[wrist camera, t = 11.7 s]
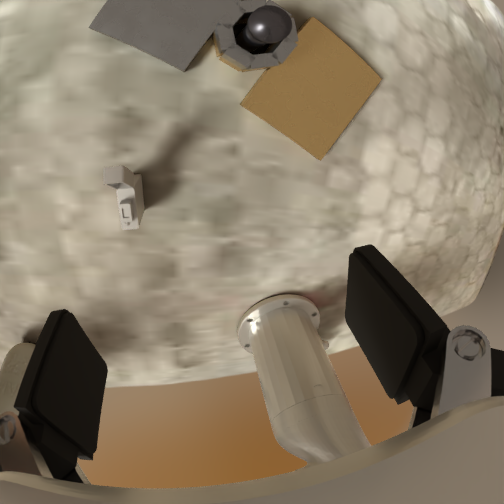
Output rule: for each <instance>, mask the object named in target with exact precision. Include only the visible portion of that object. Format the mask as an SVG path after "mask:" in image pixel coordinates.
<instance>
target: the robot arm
mask: <svg viewBox="0 0 504 504" xmlns="http://www.w3.org/2000/svg"><path fill="white" fill-rule="evenodd" d="M345 319H346V322H347V324H348V326H349V328H350V330H351V331H352V333H353V335H354V336H355V338H356V340H357V342H358V343H359V345H360V347H361V348H362V350H363V352H364V354H365V355H366V357H367V359H368V361H369V363H370V364H371V366H372V368H373V370H374V371H375V373H376V375H377V377H378V379H379V380H380V382H381V384H382V386H383V388H384V389H385V391H386V393H387V395H388V396H389V397H390V398H391V399H393V398H394V399H395V400H396V402H397V404H401V403H403V402H405V401H407V400H409V399H410V401H411V402H412V404H413V406H414V409H413V413H412V417H411V421H410V425H409V428H408V431H405V432H404V433H401V434H399V435H397V436H395V437H392V438H390V439H388V440H386V441H383V442H381V443H378V444H376V445H373V446H371V445H370V443H369V441H368V440H367V438H366V436H365V435H364V433H363V431H362V429H361V427H360V425H359V423H358V421H357V419H356V416H355V414H354V412H353V410H352V408H351V406H350V404H349V401H348V399H347V397H346V395H345V392H344V390H343V388H342V386H341V384H340V381H339V379H338V377H337V375H336V373H335V370H334V368H333V366H332V364H331V362H330V360H329V358H328V355H327V353H326V351H325V349H327V348H328V347H329V342H328V341H324V340H321V338H320V336H319V334H318V332H317V330H318V327H319V324H320V314H319V311H318V309H317V307H316V305H315V304H314V303H313V302H312V301H311V300H309V299H308V298H306V297H303V296H300V295H293V294H285V295H278V296H274V297H270V298H268V299H265V300H263V301H261V302H259V303H257V304H256V305H254V306H253V307H251V308H250V309H249V310H248V311H247V312H246V313H245V314H244V315H243V317H242V318H241V320H240V322H239V324H238V328H237V334H238V340H239V342H240V344H241V346H242V347H243V348H244V349H245V350H246V351H248V352H250V353H252V354H253V356H254V360H255V364H256V368H257V372H258V376H259V380H260V383H261V387H262V391H263V395H264V399H265V402H266V407H267V410H268V414H269V417H270V422H271V425H272V429H273V433H274V436H275V438H276V440H277V442H278V443H279V444H280V446H282V447H283V448H284V449H285V450H286V451H288V452H289V453H291V454H293V455H295V456H297V457H299V458H301V459H303V460H305V461H307V463H308V464H307V465H306V466H305V467H303V468H301V469H298V470H295V471H294V472H290V473H285V474H281V475H277V476H272V477H267V478H262V479H257V480H251V481H245V482H239V483H232V484H225V485H215V486H205V487H193V488H170V489H144V488H121V487H109V486H99V485H91V483H90V482H89V481H88V479H87V477H86V476H85V474H84V473H83V471H82V470H81V468H80V467H79V465H78V463H77V457H78V458H80V459H84V460H93V453H94V452H95V451H96V449H97V440H98V431H99V423H100V415H101V408H102V402H103V395H104V389H105V383H106V378H107V372H108V370H107V365H106V363H105V361H104V360H103V359H102V357H101V356H100V354H99V353H98V352H97V350H96V349H95V347H94V346H93V344H92V343H91V341H90V340H89V338H88V337H87V335H86V334H85V332H84V331H83V329H82V328H81V326H80V325H79V323H78V321H77V320H76V318H75V317H74V315H73V314H72V313H69V311H68V310H66V309H63V310H57V311H53V312H51V313H50V315H49V317H48V319H47V321H46V323H45V325H44V327H43V330H42V332H41V334H40V336H39V339H38V341H37V343H36V346H35V348H34V350H33V353H32V355H31V358H30V360H29V363H28V366H27V368H26V371H25V374H24V376H23V379H22V382H21V385H20V388H19V391H18V394H17V397H16V400H15V403H14V406H13V407H14V408H15V409H16V410H17V411H19V415H18V416H17V415H16V414H15V413H14V412H11V411H7V412H4V413H2V414H1V415H0V504H504V351H501V350H497V349H493V348H490V343H489V340H488V339H487V337H486V336H485V334H483V332H482V331H480V330H478V329H477V328H474V327H472V326H464V325H463V326H458V327H456V328H454V329H453V330H452V331H450V330H449V329H448V328H447V325H446V324H445V323H444V322H443V321H442V319H441V318H440V317H439V316H438V314H437V313H436V312H435V311H434V310H433V309H432V308H431V306H430V305H429V304H428V303H427V302H426V301H425V300H424V299H423V297H422V296H421V295H420V294H419V293H418V292H417V291H416V290H415V289H414V287H413V286H412V285H411V284H410V283H409V282H408V281H407V280H406V279H405V278H404V277H403V276H402V275H401V273H400V272H399V271H398V270H397V269H396V268H395V267H394V266H393V265H392V264H391V263H390V262H389V261H388V260H387V259H386V258H385V257H384V256H383V255H382V254H381V253H380V252H379V251H378V250H377V249H376V248H375V247H374V246H373V245H365V246H361V247H357V248H355V249H354V251H353V253H351V254H350V255H349V268H348V284H347V297H346V309H345Z"/></svg>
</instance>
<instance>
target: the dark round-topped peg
mask: <svg viewBox="0 0 504 504" xmlns="http://www.w3.org/2000/svg"><path fill="white" fill-rule="evenodd" d="M291 30H292V21H291V18H290V16H289V15H288V13H287V12H286V11H284V10H283V9H281V8H279V7H277V6H272V5H266V6H261V7H259V8H257V9H256V10H255V11H254V12H253V13H252V14H251V15H250V17H249V18H248V22H247V25H246V26H245V27H244V28H243V30H242V31H241V32H240V33H239V34H238V35H237V37H236V45H238V46H239V47H241V48H243V49H244V50H246V51H247V52H252V51H254V50H256V49H258V48H260V47H262V46H263V45H265V44H267V43H269V44H270V43H276V42H279V41H281V40H283V39H285V38H286V37H287V36H288V35H289V34H290V32H291Z"/></svg>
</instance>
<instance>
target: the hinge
mask: <svg viewBox="0 0 504 504" xmlns="http://www.w3.org/2000/svg"><path fill="white" fill-rule="evenodd" d="M266 5H272V6H277V7H279V8H281V9H283V8H282V7H280V6H279V5H277V4H276V3H274V2H273V1H271V0H269V1H268V2H266V0H244V1H241V0H108V1H107V2H106V3H105V5H104V6H103V7H102V9H101V10H100V12H99V13H98V14H97V16H96V17H95V19H94V20H93V22H92V23H91V25H90V26H89V28H90V29H92V30H95V31H97V32H100V33H102V34H105V35H107V36H110V37H112V38H114V39H117V40H119V41H121V42H124V43H126V44H128V45H130V46H133V47H135V48H137V49H139V50H141V51H143V52H146V53H148V54H150V55H152V56H154V57H156V58H158V59H160V60H162V61H164V62H166V63H168V64H170V65H172V66H174V67H175V68H177V69H179V70H181V71H183V72H185V70H186V69H187V68H188V66H189V65H190V63H191V62H192V61H193V59H194V58H195V57H196V55H197V54H198V52H199V51H200V50H201V48H202V47H203V46H204V45H205V43H206V42H207V41H208V39H209V38H210V37H211V36H212V34H213V33H214V34H213V40H214V45H215V50H216V55H217V57H219V56H221V57H220V58H219V60H221V61H222V62H224V63H226V64H227V65H229V66H231V67H232V68H234V69H236V70H237V71H241V70H242V72H245V71H252V70H258V69H265V68H267V69H266V70H265V71H264V73H263V74H262V75H261V76H260V78H259V79H258V80H257V82H256V83H255V84H254V86H253V87H252V88H251V90H250V91H249V92H248V94H247V95H246V97H245V98H244V99H243V101H242V102H241V103H240V105H241V106H242V107H244V108H246V109H247V110H249V111H250V112H252V113H253V114H255V115H256V116H258V117H259V118H261V119H262V120H264V121H265V122H267V123H268V124H270V125H271V126H273V127H274V128H276V129H277V130H278V131H280V132H281V133H283V134H284V135H285V136H287V137H288V138H290V139H291V140H292V141H294V142H295V143H297V144H298V145H299V146H301V147H302V148H303V149H305V150H306V151H307V152H309V153H310V154H311V155H313V156H314V157H315V158H317V159H318V160H320V161H321V160H322V158H323V157H324V156H325V154H326V153H327V152H328V150H329V149H330V148H331V146H332V145H333V144H334V142H335V141H336V140H337V138H338V137H339V136H340V134H341V133H342V132H343V130H344V129H345V128H346V126H347V125H348V124H349V122H350V121H351V120H352V118H353V117H354V116H355V114H356V113H357V112H358V110H359V109H360V108H361V106H362V105H363V104H364V102H365V101H366V100H367V98H368V97H369V96H370V94H371V93H372V92H373V90H374V89H375V88H376V86H377V85H378V84H379V82H380V81H381V80H382V79H381V78H380V77H379V76H378V75H377V74H376V72H375V71H374V70H373V69H372V68H371V67H370V66H369V65H368V64H367V63H366V62H365V61H364V60H363V59H362V58H360V57H359V56H358V55H357V54H356V53H355V52H354V51H353V50H352V49H351V48H350V47H349V46H348V45H347V44H345V43H344V42H343V41H342V40H341V39H340V38H339V37H337V36H336V35H335V34H334V33H333V32H332V31H330V30H329V29H328V28H327V27H326V26H324V25H323V24H322V23H321V22H319V21H318V20H317V19H316V18H314V17H311V18H309V19H307V20H306V22H305V23H304V24H303V25H302V26H301V27H300V28H299V30H298V31H297V30H296V25H295V20H294V18H291V21H292V30H291V32H290V34H289V35H288V36H287V37H286V38H285V39H283V40H281V41H279V42H276V43H270V44H269V47H268V48H267V50H266V51H265V52H264V53H263V54H257V55H252V54H251V53H249V52H247V51H246V50H244V49H243V48H241V47H239V46H238V45H236V42H235V37H234V32H233V27H234V26H235V25H236V24H244V23H247V22H248V18H249V17H250V15H251V14H252V13H253V12H254V11H255V10H256V9H257V8H259V7H261V6H266ZM283 10H284V11H286V10H285V9H283ZM286 12H287V11H286ZM287 13H288V15H289V16H291V15H292V14H290V13H289V12H287Z"/></svg>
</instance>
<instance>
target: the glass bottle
mask: <svg viewBox="0 0 504 504" xmlns="http://www.w3.org/2000/svg"><path fill="white" fill-rule="evenodd" d="M35 346H36V345H35V344H32V343H20V344H17V345H15V346H14V347H13V348H12V349H11V350H10V351H9V352H8V354H7V355H6V357H5V359H4V362H3V364H2V367H1V370H0V415H1V414H2V413H4V412H7V411H11V412H14V413H15V414H16V415H17V416H18V415H19V411H17V410H16V409H15V408H14V407H13V406H14V403H15V400H16V397H17V394H18V391H19V388H20V385H21V382H22V379H23V376H24V374H25V371H26V368H27V366H28V363H29V360H30V358H31V355H32V353H33V350H34V348H35Z"/></svg>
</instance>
